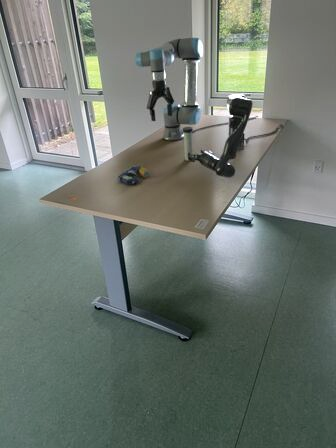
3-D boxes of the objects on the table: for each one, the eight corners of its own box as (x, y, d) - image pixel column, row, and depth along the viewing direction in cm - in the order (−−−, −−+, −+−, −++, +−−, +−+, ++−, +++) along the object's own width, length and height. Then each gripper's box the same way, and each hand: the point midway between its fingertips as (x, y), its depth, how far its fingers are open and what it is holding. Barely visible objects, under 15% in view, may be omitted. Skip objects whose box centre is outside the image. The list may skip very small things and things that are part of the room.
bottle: (183, 160, 208) (182, 129, 198) (187, 157, 211) (186, 127, 201) (190, 161, 205) (189, 130, 196) (194, 158, 209) (193, 128, 199)
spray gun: (155, 171, 194) (133, 169, 200) (154, 165, 192) (132, 163, 198) (137, 187, 179) (114, 184, 185) (136, 180, 176) (112, 177, 183)
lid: (180, 132, 199) (180, 129, 198) (185, 129, 203) (185, 126, 202) (189, 133, 196) (189, 130, 195) (194, 130, 200) (194, 127, 199)
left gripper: (169, 76, 197) (172, 112, 208) (137, 83, 183) (142, 122, 194) (178, 76, 193) (180, 114, 204) (146, 84, 178) (150, 124, 189)
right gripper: (219, 151, 186) (205, 144, 199) (197, 157, 181) (183, 149, 194) (219, 164, 190) (205, 156, 203) (197, 170, 185) (184, 161, 198)
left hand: (161, 118), depth 199 cm, fingers open, 13 cm apart
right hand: (194, 152), depth 199 cm, fingers open, 8 cm apart
